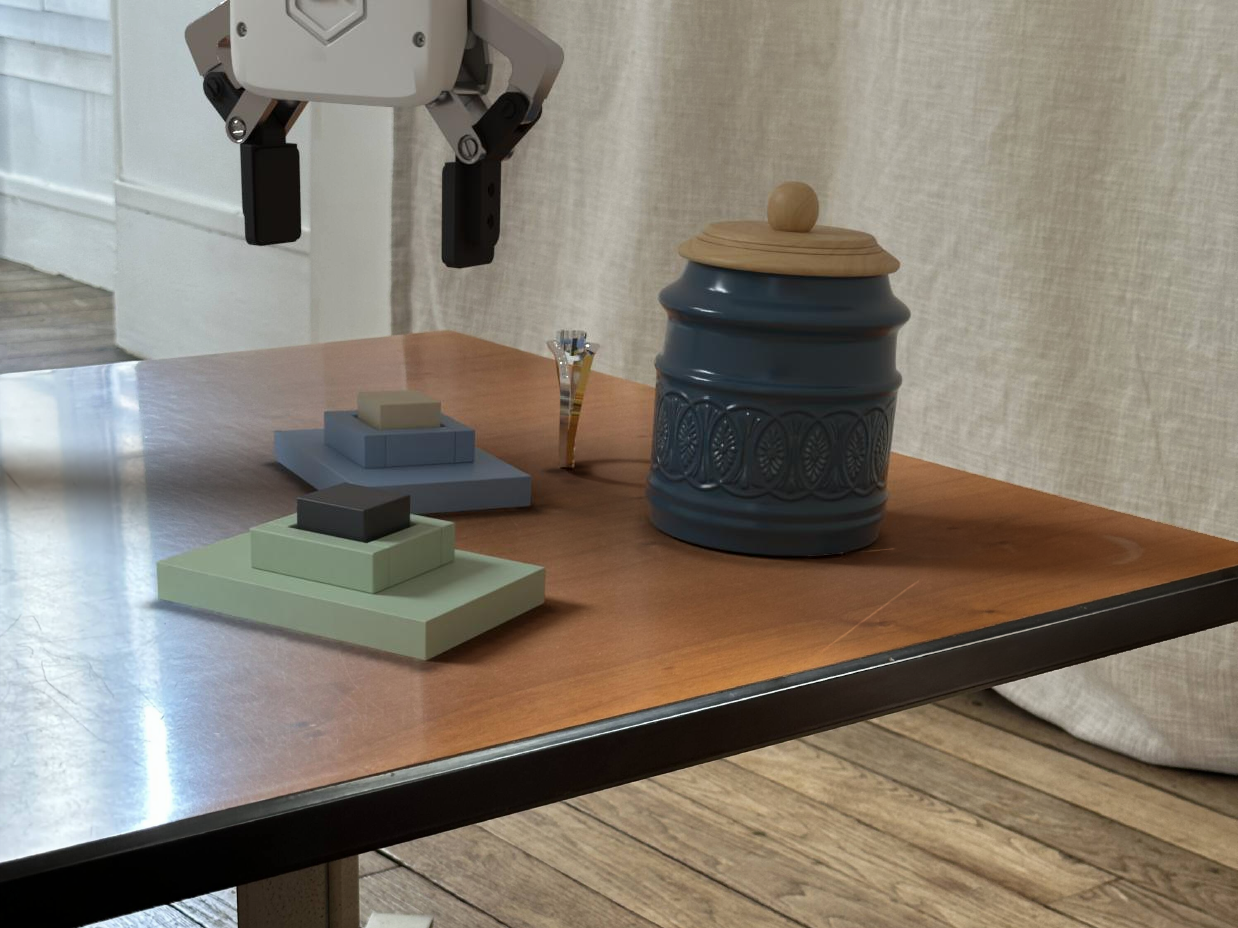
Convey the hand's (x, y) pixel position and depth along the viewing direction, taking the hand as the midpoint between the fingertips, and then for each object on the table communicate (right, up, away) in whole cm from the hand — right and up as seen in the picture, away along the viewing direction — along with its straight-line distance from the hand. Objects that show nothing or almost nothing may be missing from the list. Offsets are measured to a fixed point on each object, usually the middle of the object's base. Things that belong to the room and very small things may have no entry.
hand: (368, 253), depth 74 cm
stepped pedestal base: (-1, -14, +5) cm, 15 cm away
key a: (-1, -11, +4) cm, 12 cm away
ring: (+7, -3, +32) cm, 32 cm away
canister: (+18, -8, +21) cm, 29 cm away
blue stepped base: (-2, -5, +26) cm, 26 cm away
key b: (-2, -2, +24) cm, 25 cm away
